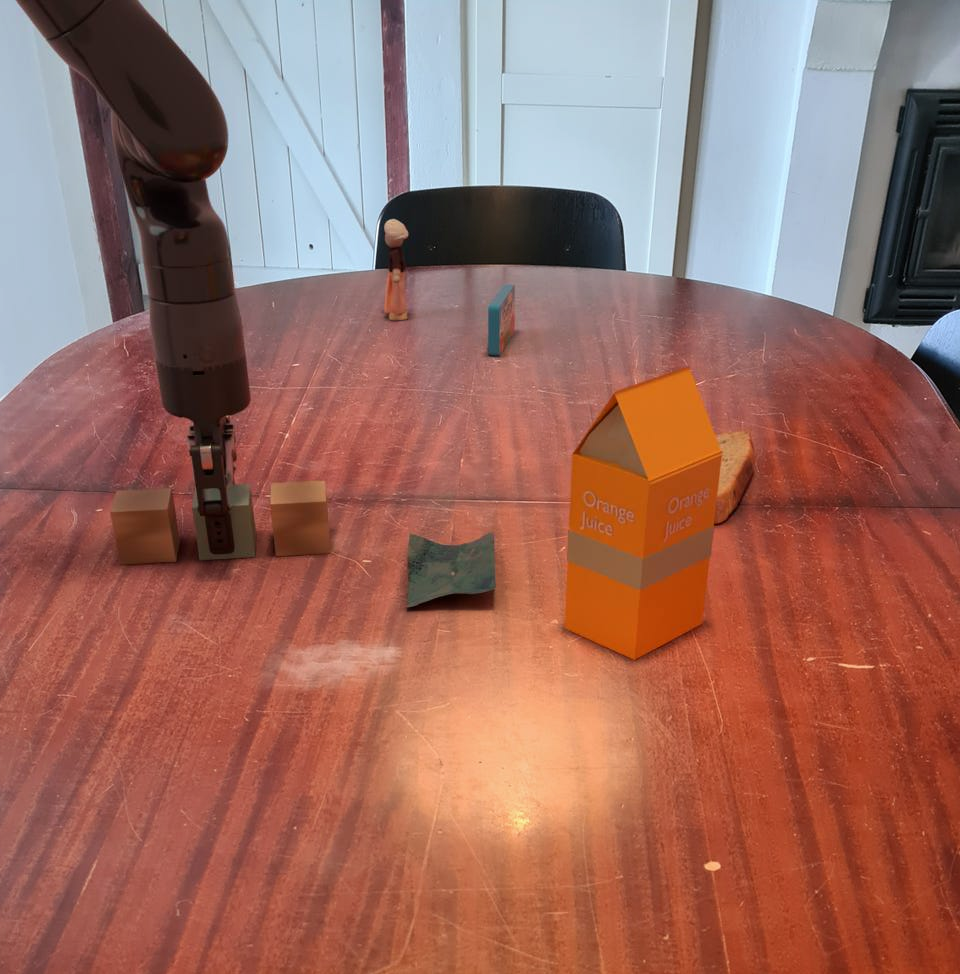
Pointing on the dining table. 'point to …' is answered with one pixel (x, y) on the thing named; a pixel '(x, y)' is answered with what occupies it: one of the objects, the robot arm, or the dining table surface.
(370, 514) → the dining table surface
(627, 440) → the orange juice
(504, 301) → the teal flat box
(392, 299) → the grandmother figurine
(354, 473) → the dining table surface
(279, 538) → the beech block right
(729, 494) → the bread slice
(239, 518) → the sage block
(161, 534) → the beech block left
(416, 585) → the terrain model
